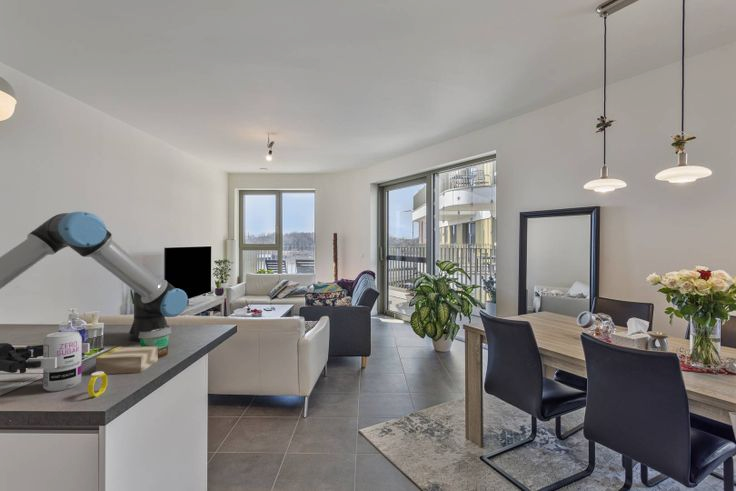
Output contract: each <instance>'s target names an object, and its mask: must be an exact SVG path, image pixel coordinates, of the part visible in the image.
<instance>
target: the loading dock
mask: <svg viewBox="0 0 736 491" xmlns="http://www.w3.org/2000/svg"><path fill="white" fill-rule="evenodd" d="M158 361H159V358H158V346H143V347H141V346H116V347H114V348H112V349H110V350H108V351H106V352H104V353H101V355H100V354H99V355H98V356H97V357H95V372H99V371H103V372H104V374H106V375H113V374H114V375H115V374H116V375H117V374H139V373H140V374H141V373H142V372H144V371H145V370H147V369H148V368H149V367H151V366H152V365H153V364H155V363H156V362H158Z"/></svg>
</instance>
